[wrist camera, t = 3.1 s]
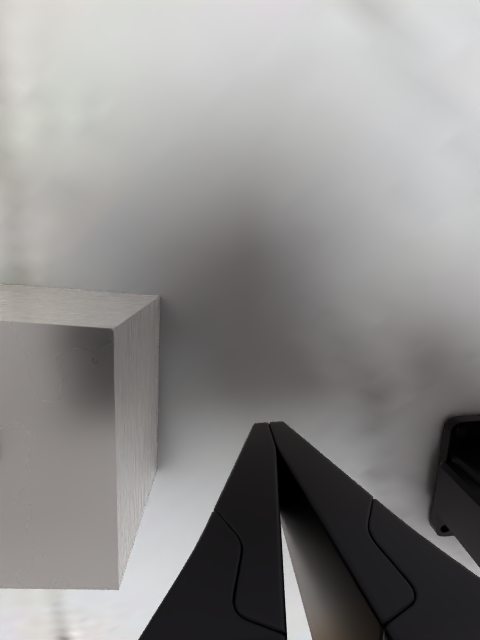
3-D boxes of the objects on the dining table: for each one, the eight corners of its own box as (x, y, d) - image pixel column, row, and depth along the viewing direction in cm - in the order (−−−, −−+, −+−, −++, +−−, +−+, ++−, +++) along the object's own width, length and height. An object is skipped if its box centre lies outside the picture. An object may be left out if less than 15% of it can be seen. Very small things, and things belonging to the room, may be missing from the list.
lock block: (161, 294, 11) (98, 338, 6) (157, 466, 13) (107, 623, 8) (-78, 276, 11) (-401, 305, 5) (-45, 458, 13) (-256, 622, 7)
